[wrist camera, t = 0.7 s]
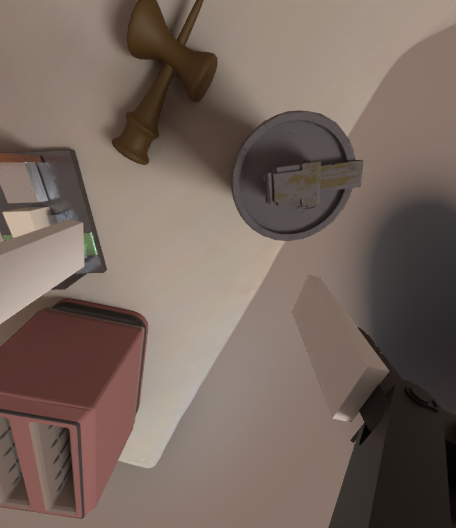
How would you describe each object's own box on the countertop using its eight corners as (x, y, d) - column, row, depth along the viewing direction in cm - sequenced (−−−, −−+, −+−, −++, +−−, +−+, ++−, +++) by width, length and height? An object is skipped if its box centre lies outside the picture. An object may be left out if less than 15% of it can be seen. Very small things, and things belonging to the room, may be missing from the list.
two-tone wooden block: (-6, 156, 34) (-63, 154, 27) (40, 155, 34) (-7, 152, 27) (12, 201, 37) (-36, 209, 30) (55, 200, 36) (15, 207, 30)
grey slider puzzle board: (-26, 154, 35) (-86, 152, 29) (74, 150, 35) (36, 147, 28) (24, 271, 43) (-14, 290, 37) (106, 269, 43) (83, 289, 36)
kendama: (107, 136, 34) (171, -23, 27) (164, 175, 37) (237, 39, 29) (84, 133, 29) (156, -67, 22) (152, 179, 31) (238, 12, 24)
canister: (237, 212, 38) (239, 257, 19) (229, 142, 34) (221, 114, 15) (303, 204, 37) (371, 242, 18) (303, 130, 33) (391, 86, 14)
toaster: (65, 404, 59) (-15, 516, 40) (55, 294, 45) (-71, 385, 27) (139, 417, 60) (95, 532, 41) (151, 314, 47) (94, 414, 28)
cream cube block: (25, 207, 37) (2, 212, 33) (48, 206, 37) (28, 211, 33) (34, 231, 39) (13, 238, 35) (57, 230, 39) (38, 237, 35)
